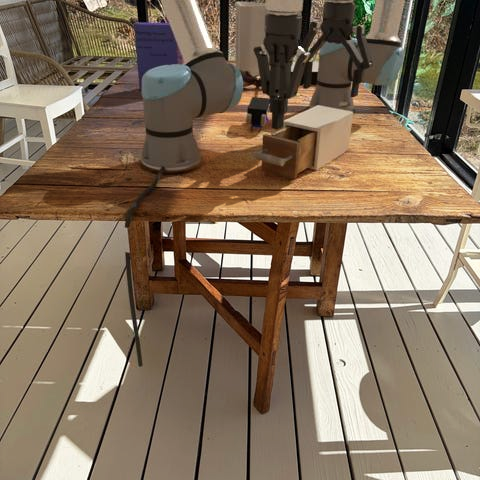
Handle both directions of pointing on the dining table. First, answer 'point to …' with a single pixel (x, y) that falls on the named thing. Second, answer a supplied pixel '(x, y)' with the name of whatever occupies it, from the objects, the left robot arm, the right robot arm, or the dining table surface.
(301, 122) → the cabinet
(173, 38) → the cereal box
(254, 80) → the figurine
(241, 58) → the tall white carton
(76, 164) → the dining table surface
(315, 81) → the disc drive
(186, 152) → the left robot arm
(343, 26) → the right robot arm
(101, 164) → the dining table surface
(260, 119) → the figurine character
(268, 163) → the drawer
